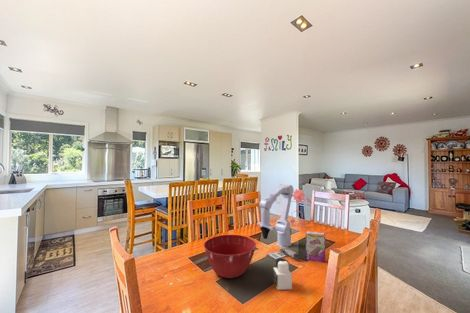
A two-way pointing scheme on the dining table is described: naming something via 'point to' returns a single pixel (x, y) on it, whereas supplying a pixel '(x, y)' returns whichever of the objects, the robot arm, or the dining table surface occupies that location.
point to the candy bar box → (315, 246)
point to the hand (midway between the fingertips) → (265, 238)
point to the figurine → (298, 196)
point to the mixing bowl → (229, 254)
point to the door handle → (290, 252)
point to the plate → (274, 258)
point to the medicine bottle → (282, 275)
